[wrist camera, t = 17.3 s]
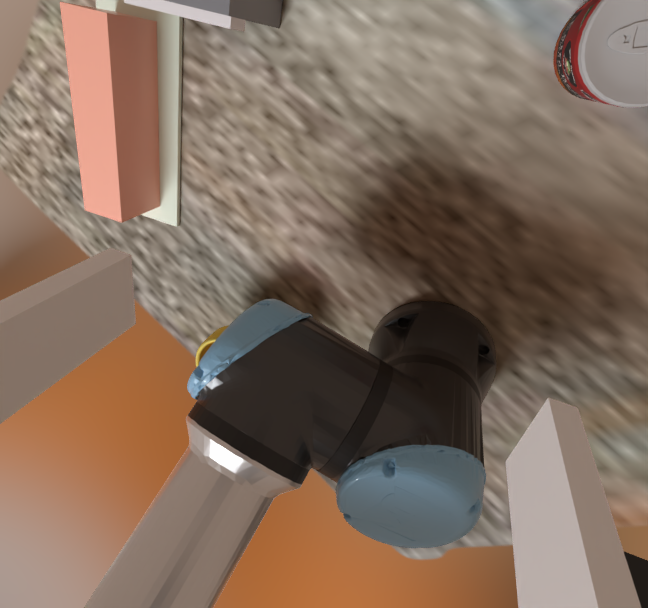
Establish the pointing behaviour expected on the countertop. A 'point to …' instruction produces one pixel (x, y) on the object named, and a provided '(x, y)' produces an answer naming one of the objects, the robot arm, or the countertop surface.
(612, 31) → the canned food
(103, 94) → the long pink block
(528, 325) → the countertop surface
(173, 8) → the grey block
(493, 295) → the countertop surface
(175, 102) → the pale green flat board
